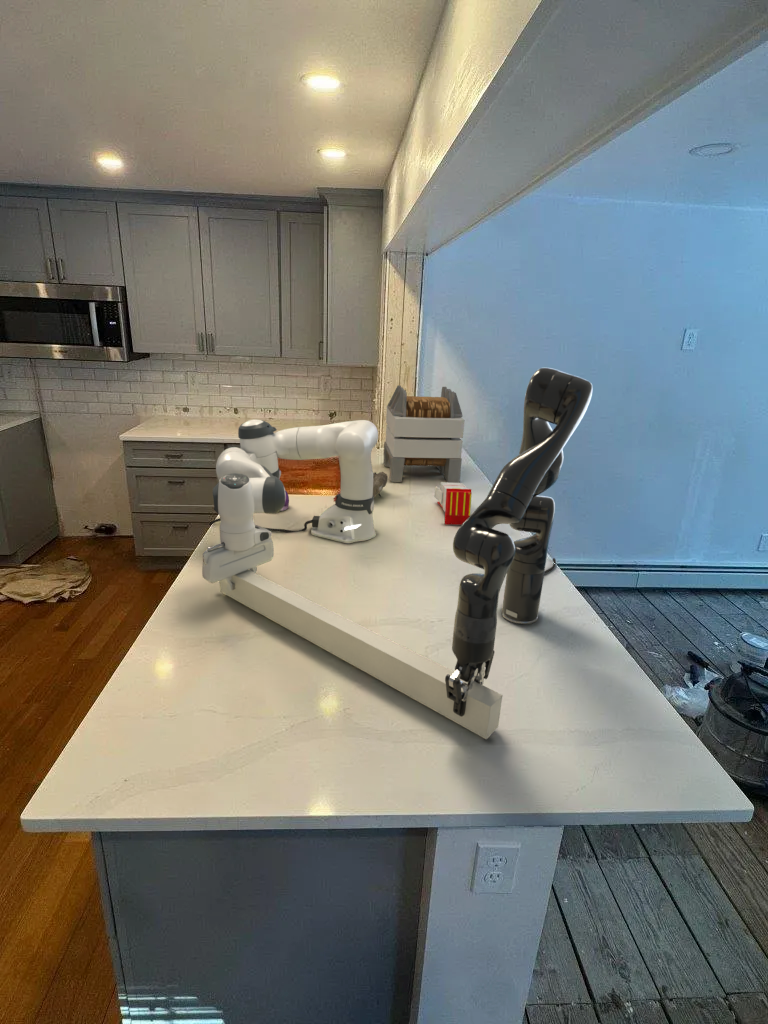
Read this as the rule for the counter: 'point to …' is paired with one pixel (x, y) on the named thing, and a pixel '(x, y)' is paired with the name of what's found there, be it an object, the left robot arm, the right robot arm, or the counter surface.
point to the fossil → (379, 482)
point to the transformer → (424, 434)
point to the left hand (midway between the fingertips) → (240, 585)
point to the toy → (454, 502)
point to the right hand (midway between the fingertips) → (466, 706)
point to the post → (367, 651)
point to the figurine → (286, 497)
